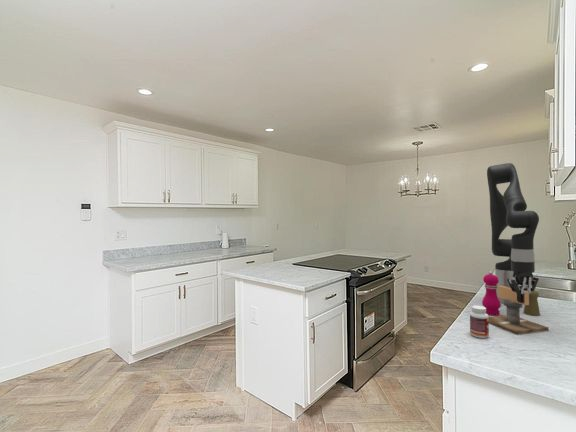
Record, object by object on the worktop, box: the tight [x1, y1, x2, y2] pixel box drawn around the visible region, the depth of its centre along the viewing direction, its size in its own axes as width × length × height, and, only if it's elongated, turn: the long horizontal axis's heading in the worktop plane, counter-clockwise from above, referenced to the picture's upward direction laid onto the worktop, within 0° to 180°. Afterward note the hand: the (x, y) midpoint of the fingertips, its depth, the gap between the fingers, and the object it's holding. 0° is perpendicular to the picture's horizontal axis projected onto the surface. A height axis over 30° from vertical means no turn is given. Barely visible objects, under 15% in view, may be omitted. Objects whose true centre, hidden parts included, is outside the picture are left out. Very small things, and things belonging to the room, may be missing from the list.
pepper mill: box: [481, 270, 502, 316], centre depth 140 cm, size 7×7×20 cm
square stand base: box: [488, 306, 549, 336], centre depth 125 cm, size 16×16×8 cm
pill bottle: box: [469, 305, 490, 339], centre depth 115 cm, size 6×6×11 cm
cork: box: [523, 290, 541, 317], centre depth 138 cm, size 6×6×11 cm
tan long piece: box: [498, 286, 529, 309], centre depth 125 cm, size 6×12×8 cm, turn 12°
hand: (523, 302), depth 120 cm, fingers closed on tan long piece, 2 cm apart
